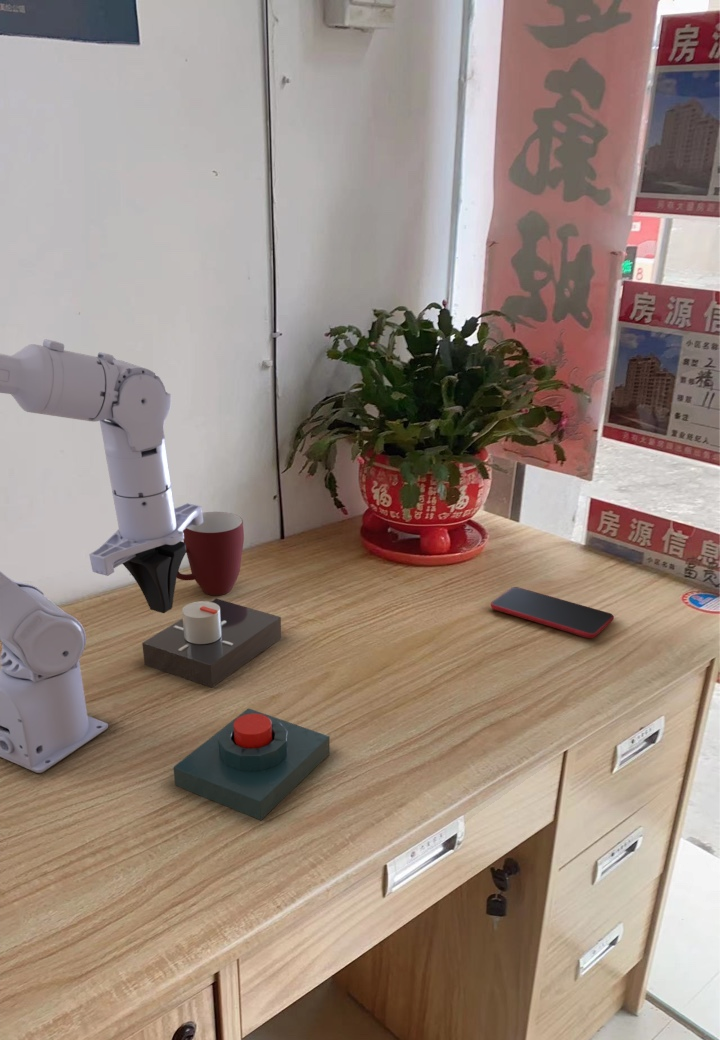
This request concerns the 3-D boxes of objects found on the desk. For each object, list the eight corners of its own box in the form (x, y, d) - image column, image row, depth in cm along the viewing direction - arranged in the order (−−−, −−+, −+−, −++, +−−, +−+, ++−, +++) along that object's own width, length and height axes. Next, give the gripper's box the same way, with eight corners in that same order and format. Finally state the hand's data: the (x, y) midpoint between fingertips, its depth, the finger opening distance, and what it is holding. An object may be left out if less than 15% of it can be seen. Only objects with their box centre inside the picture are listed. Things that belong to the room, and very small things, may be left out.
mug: (192, 612, 116) (186, 542, 111) (160, 592, 122) (154, 524, 117) (257, 591, 122) (255, 523, 118) (225, 573, 128) (221, 507, 123)
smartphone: (513, 585, 124) (616, 614, 116) (513, 591, 124) (615, 620, 116) (488, 603, 118) (594, 635, 111) (487, 609, 119) (593, 641, 111)
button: (257, 753, 83) (257, 738, 82) (226, 742, 84) (225, 727, 83) (279, 735, 85) (278, 720, 85) (249, 724, 87) (248, 709, 86)
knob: (176, 638, 104) (173, 609, 102) (200, 623, 107) (198, 595, 105) (206, 647, 102) (204, 618, 100) (229, 632, 105) (227, 604, 103)
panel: (212, 687, 100) (210, 663, 98) (144, 664, 104) (141, 641, 102) (281, 638, 111) (280, 615, 109) (217, 619, 115) (216, 597, 113)
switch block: (261, 820, 80) (259, 785, 78) (174, 785, 84) (171, 751, 82) (329, 754, 89) (330, 721, 87) (248, 725, 93) (247, 693, 91)
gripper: (119, 520, 80) (142, 648, 87) (219, 470, 90) (232, 588, 97) (64, 507, 83) (90, 632, 90) (167, 460, 94) (183, 575, 100)
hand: (161, 608), depth 94 cm, fingers closed
